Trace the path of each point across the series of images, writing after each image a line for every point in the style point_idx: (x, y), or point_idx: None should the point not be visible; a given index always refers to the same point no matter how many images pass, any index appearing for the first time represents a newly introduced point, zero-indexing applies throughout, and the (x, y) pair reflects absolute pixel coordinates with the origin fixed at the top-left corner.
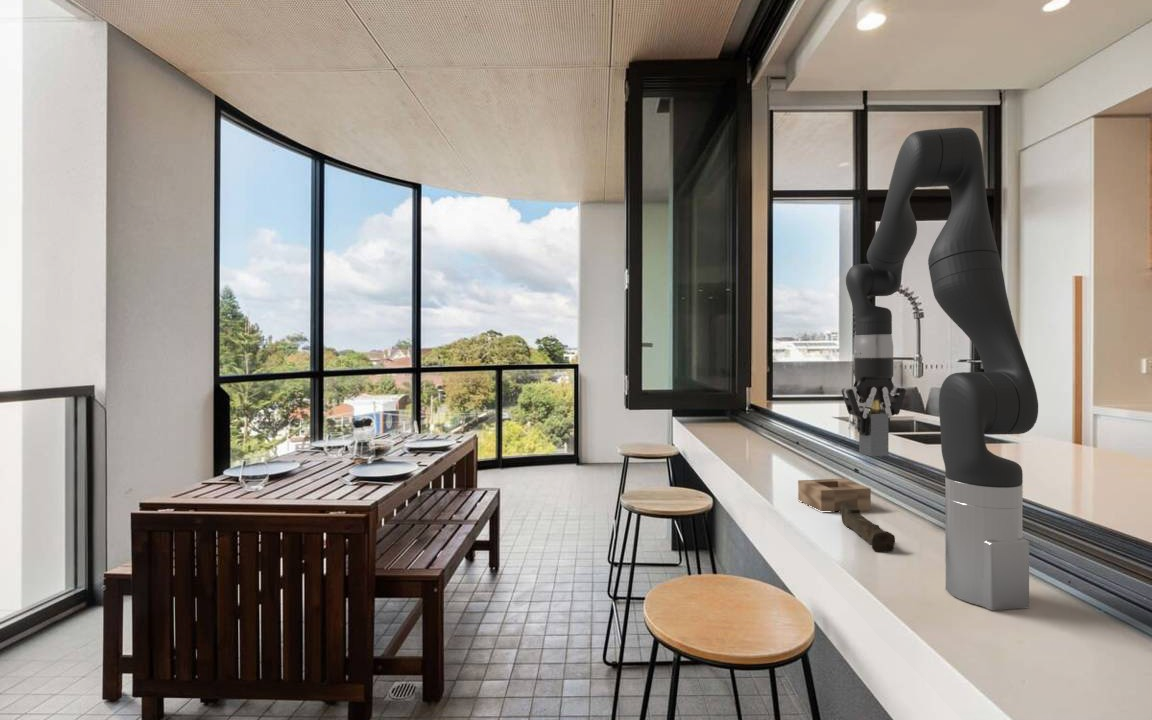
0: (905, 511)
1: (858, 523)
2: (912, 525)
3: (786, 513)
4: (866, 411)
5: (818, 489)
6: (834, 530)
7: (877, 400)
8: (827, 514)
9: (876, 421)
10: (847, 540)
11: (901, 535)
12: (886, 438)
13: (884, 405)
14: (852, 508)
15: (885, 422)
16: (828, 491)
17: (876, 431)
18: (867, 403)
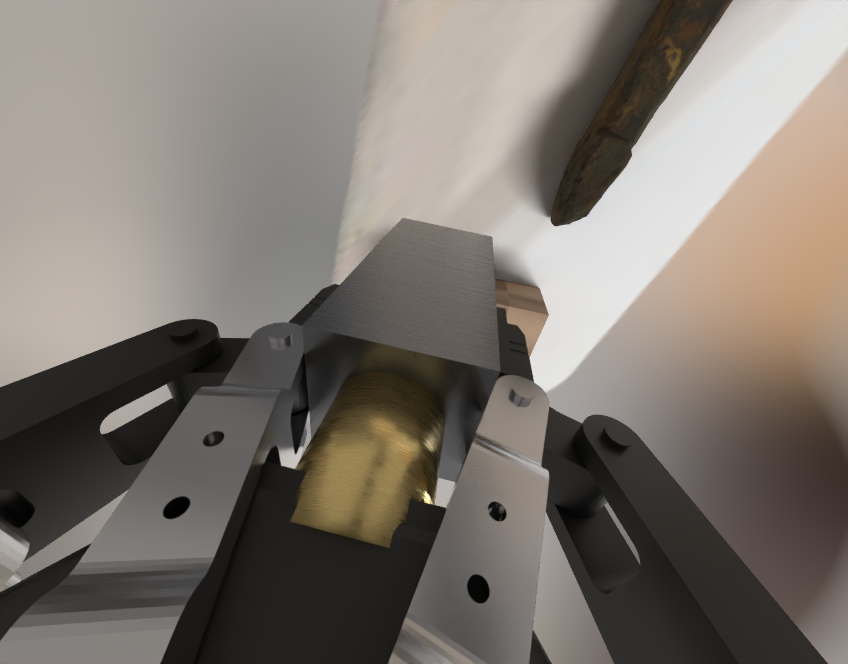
0: (344, 225)
1: (700, 46)
2: (416, 116)
3: (619, 313)
4: (512, 423)
5: (543, 326)
6: (658, 153)
7: (341, 512)
8: (537, 273)
9: (446, 314)
10: (731, 45)
11: (527, 35)
12: (390, 247)
13: (277, 417)
14: (610, 156)
15: (364, 291)
16: (526, 308)
17: (452, 279)
18: (539, 504)
